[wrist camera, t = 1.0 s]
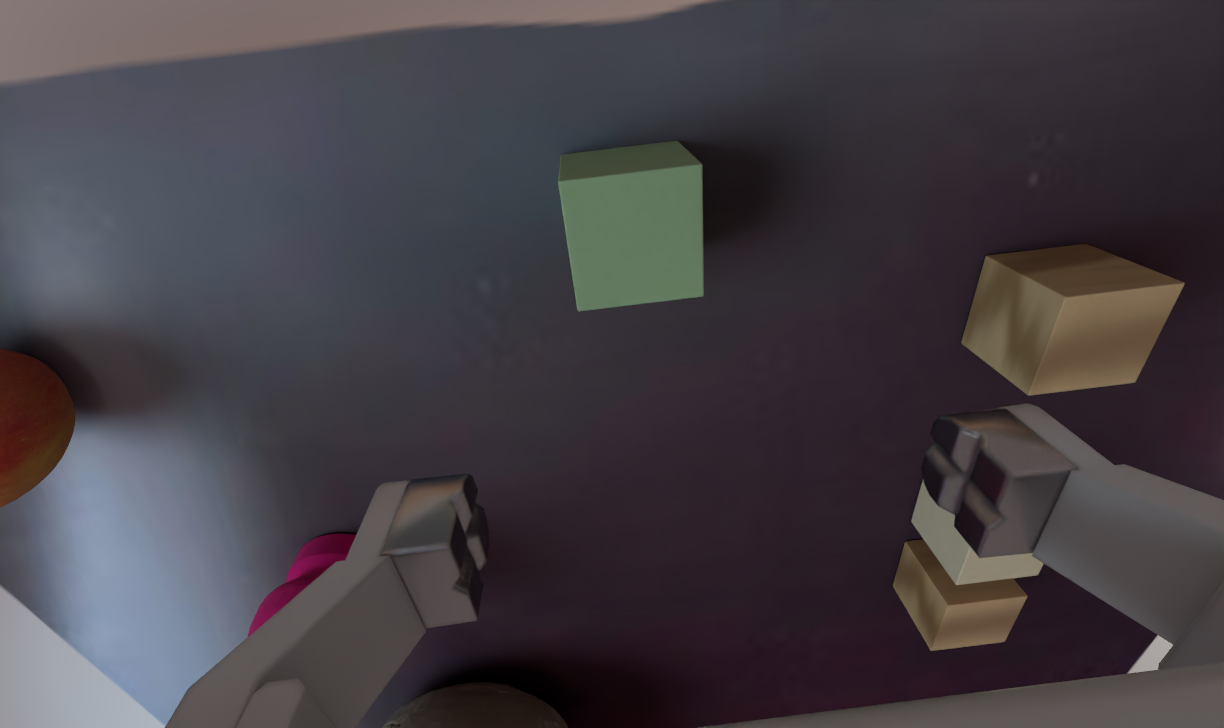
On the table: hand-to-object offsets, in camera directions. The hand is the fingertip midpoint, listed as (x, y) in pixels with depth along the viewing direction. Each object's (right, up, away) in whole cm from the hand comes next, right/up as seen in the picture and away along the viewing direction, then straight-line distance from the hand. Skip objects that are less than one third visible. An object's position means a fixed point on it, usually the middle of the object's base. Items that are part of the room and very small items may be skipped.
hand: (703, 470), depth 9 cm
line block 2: (+22, -12, +29) cm, 38 cm away
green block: (-1, +9, +14) cm, 17 cm away
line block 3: (+19, +5, +18) cm, 27 cm away
